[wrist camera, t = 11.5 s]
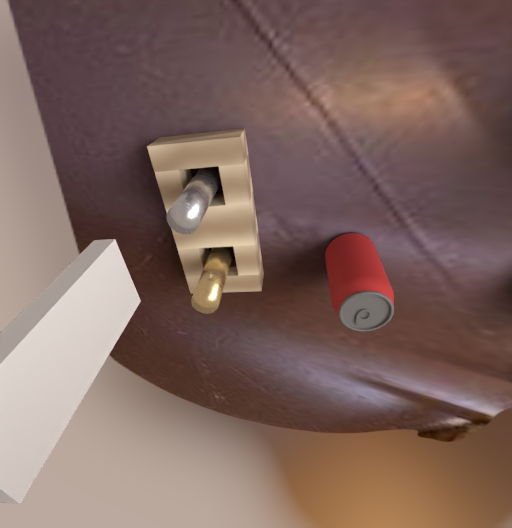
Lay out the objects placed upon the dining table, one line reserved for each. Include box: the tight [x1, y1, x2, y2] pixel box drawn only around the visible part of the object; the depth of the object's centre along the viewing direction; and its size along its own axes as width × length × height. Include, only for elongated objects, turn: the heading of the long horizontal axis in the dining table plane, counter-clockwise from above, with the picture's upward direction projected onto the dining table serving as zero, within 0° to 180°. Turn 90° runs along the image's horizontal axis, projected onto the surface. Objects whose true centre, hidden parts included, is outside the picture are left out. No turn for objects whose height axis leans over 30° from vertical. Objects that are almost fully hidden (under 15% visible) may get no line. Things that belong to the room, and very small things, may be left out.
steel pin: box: [167, 166, 221, 234], centre depth 34 cm, size 3×3×12 cm
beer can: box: [325, 233, 394, 331], centre depth 38 cm, size 7×7×12 cm
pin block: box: [147, 128, 264, 293], centre depth 40 cm, size 20×10×4 cm, turn 7°
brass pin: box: [191, 246, 234, 313], centre depth 39 cm, size 3×3×12 cm
